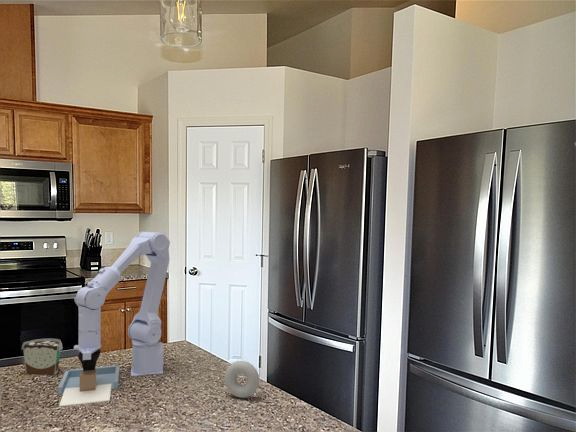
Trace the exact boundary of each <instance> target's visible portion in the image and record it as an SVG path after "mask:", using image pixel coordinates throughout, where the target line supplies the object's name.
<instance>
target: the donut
mask: <svg viewBox="0 0 576 432" xmlns="http://www.w3.org/2000/svg"><path fill="white" fill-rule="evenodd" d="M240 374H243V375H244V376H245V377H246V383H245V384H241V383H240V382H239V381H238V379H237V378H238V375H240ZM224 383H225V384H224V385H225V386H226V389H227V390H228V392H229V393H230V394H232V395H233V396H235V397H237V398H239V399H242V398H243V399H246V398H249V397H250V396H253V395H254V394H255V393H256V391H257V390H258V388H259V385H260V375H259V372H258V371H257V368H256V367H255V366H254V365H253V363H250V362H249V361H246V360H236V361H234V362H231V364H230V365H228V367H227V368H226V370H225V373H224Z"/></svg>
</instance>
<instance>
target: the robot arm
mask: <svg viewBox="0 0 576 432" xmlns="http://www.w3.org/2000/svg"><path fill="white" fill-rule="evenodd" d="M170 243H171V241H170V239H169V238H168V237H167V236H166V233H163V232H159V231H157V232H155V231H154V232H152V231H139V232H138V233H137V234H136V236H134V237H132V238H131V240H130V244H129V245H128V246H127V247H126V248H125V249H124V251H123V252H122V253H121V254H120V255H119V257H118V258H117V259H116V260H115V261H114V263H113V264H112V265H109V266H104V267H101V268H100V269H99V270H98V274H97V275H96V276H94V277H93V279H91V281H88V283H87V284H86V285H87V286H84V287H81V288H80V289H79V290H78V291H77V293H76V295H75V297H73V300H74V303H75V304H76V306H77V307H78V344H75V345H74V346H73V350H78V351H79V353H78V354H77V358H78V360H79V362H80V365H81V367H82V369H83V371H89V370H95V367H97V366H96V365H97V362H98V359H99V357H100V355H101V352H102V350H101V347H102V343H101V341H102V340H101V338H102V337H101V330H102V329H101V326H102V325H101V323H102V322H101V314H102V313H101V311H102V310H101V307H102V306H103V305H104V304H105V301H106V296H107V295H108V293H109V292H110V291H111V290H113V288H115V286H116V285H117V284H118V283H119V282H120V281H121V278H122V277H121V274H122V273H123V272H125V271H124V270H126V269H127V268H128V267H129V266H131V264H132V263H134V261H136V260H137V258H138V257H139V256H144V255H145V256H146V257H147V259H148V260H149V262H150V266H149V271H148V274H147V278H146V283H145V287H144V291H143V295H142V300H141V305H140V308H139V311H137V313H136V314H135V315H134V316H133V319H132V322H131V323H130V324H129V326H128V329H127V335H128V337H129V338H130V340H131V344H132V363H131V364H132V365H131V367H130V369H131V370H130V376H131V377H137V376H146V375H154V374H164V365H165V359H164V344H163V342H161V341H160V339H161V337H162V319H161V318H160V317H159V309H160V303H161V299H162V295H163V292H164V291H163V290H164V286H165V282H166V279H167V278H166V276H167V273H168V268H169V264H170V252H169V251H170V250H169V248H170ZM159 341H160V342H159Z"/></svg>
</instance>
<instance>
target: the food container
mask: <svg viewBox="0 0 576 432" xmlns="http://www.w3.org/2000/svg"><path fill="white" fill-rule="evenodd" d="M63 349H64V347H63V343H62V341H61V339H58V338H39V339H32V340H28V341H24V342H23V343H22V345H21V350H23V359H24V369H25V375H37V376H38V375H43V376H56V375H57V374H58V373H59V365H60V356H61V355H60V354H61V351H62V350H63Z"/></svg>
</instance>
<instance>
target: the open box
mask: <svg viewBox="0 0 576 432" xmlns="http://www.w3.org/2000/svg"><path fill="white" fill-rule="evenodd" d="M95 370H96V385H104V384H112V387H111V390H117V389H118V388H119V382H120V373H121V372H120V365H118V364H117V365H109V366H108V365H107V366H105V365H104V366H96V367H95ZM81 371H83V368H75V369H74V368H73V369H66V370H65V371H64V373H63V376H62V379H61V380H60V381H59V384H58V387H57V394H58V396H60V395H61V396H63V393H64V390H65V388H75V387H80V372H81Z"/></svg>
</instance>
